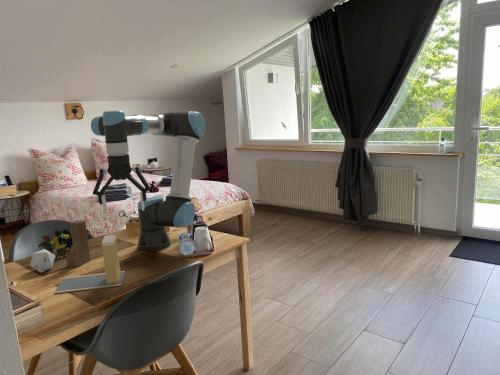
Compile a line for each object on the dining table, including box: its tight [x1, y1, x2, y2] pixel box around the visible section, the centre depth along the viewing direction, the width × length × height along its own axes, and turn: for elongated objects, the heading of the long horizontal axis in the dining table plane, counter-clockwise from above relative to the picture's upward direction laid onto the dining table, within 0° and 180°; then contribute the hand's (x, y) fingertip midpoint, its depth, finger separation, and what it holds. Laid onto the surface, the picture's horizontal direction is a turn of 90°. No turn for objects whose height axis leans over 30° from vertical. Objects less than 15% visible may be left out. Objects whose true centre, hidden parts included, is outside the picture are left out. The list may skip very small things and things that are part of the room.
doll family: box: [37, 228, 91, 259], centre depth 180 cm, size 23×9×13 cm, turn 157°
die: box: [29, 248, 57, 274], centre depth 162 cm, size 8×9×10 cm
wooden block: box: [65, 219, 91, 268], centre depth 167 cm, size 9×4×18 cm, turn 160°
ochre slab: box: [101, 234, 121, 284], centre depth 149 cm, size 4×8×16 cm, turn 11°
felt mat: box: [53, 270, 126, 295], centre depth 149 cm, size 23×13×1 cm, turn 101°
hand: (124, 211), depth 146 cm, fingers open, 13 cm apart
